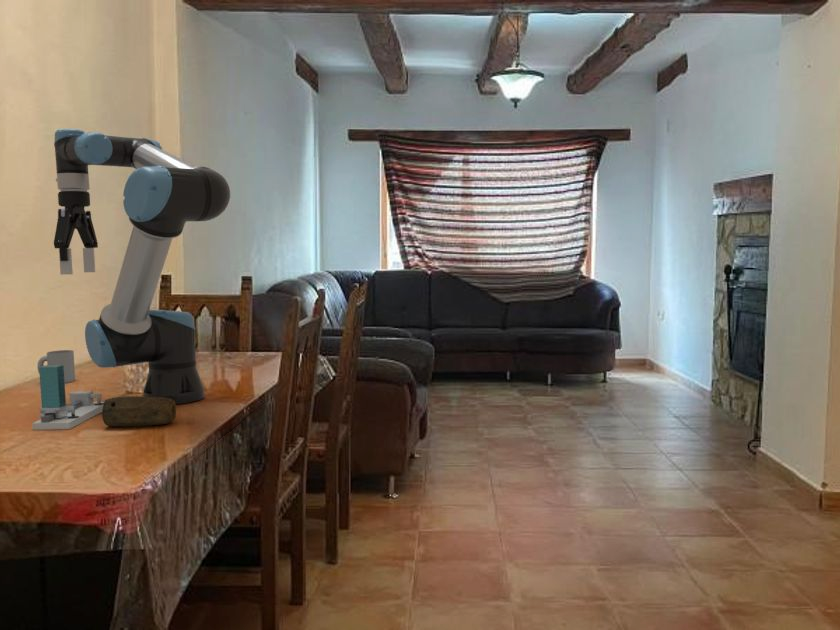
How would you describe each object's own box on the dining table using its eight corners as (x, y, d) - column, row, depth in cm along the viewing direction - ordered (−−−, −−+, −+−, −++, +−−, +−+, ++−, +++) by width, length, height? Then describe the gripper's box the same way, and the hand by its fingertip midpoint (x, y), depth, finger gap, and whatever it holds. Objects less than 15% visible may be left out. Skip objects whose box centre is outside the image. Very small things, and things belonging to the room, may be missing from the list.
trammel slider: (79, 414, 175) (76, 364, 174) (71, 418, 171) (68, 367, 170) (49, 414, 175) (45, 364, 174) (40, 418, 171) (37, 367, 170)
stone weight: (101, 431, 166) (99, 401, 165) (107, 424, 173) (106, 395, 172) (173, 427, 169) (172, 397, 168) (177, 420, 176) (176, 391, 175)
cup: (72, 383, 226) (70, 352, 225) (35, 385, 223) (33, 354, 222) (77, 378, 233) (75, 349, 232) (41, 380, 230) (39, 351, 229)
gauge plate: (109, 407, 190) (108, 389, 190) (69, 429, 168) (68, 408, 168) (77, 408, 190) (76, 390, 190) (32, 429, 168) (31, 409, 168)
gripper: (80, 194, 211) (85, 271, 213) (35, 187, 186) (40, 275, 188) (107, 193, 211) (112, 271, 213) (66, 187, 186) (71, 275, 188)
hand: (78, 273), depth 201 cm, fingers open, 13 cm apart
